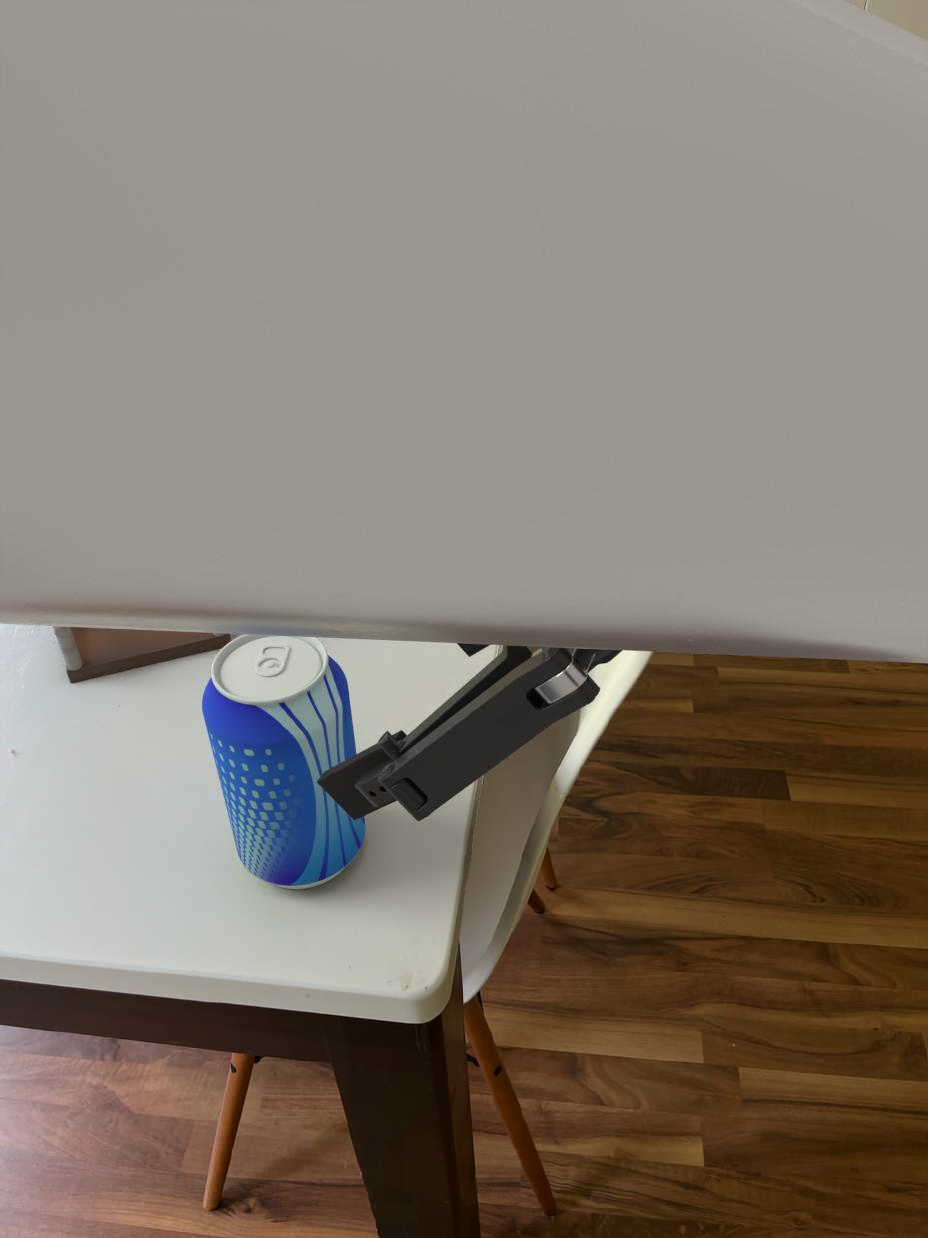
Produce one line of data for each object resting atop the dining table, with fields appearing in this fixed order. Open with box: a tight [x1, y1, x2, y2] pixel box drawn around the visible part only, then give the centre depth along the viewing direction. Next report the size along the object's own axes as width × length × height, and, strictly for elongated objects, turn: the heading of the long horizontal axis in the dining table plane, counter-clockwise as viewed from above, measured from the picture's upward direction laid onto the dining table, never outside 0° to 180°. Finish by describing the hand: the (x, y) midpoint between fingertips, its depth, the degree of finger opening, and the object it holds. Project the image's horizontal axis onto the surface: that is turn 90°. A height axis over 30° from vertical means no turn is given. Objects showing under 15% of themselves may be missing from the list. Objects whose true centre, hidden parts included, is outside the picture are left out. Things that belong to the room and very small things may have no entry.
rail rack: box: [52, 626, 232, 684], centre depth 84 cm, size 13×13×6 cm
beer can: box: [201, 634, 366, 890], centre depth 61 cm, size 8×8×16 cm
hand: (402, 709), depth 53 cm, fingers open, 13 cm apart
